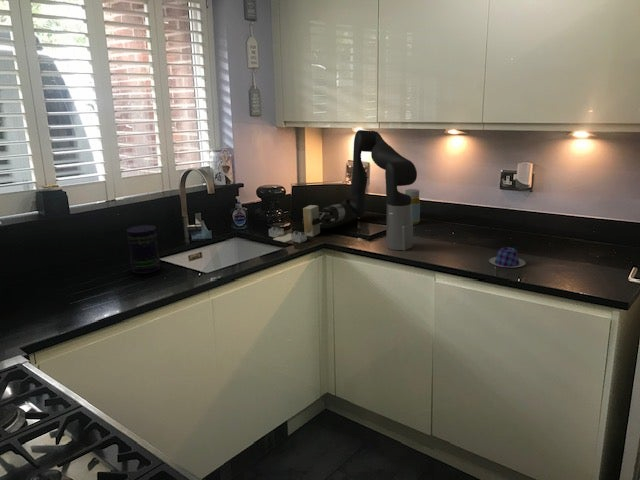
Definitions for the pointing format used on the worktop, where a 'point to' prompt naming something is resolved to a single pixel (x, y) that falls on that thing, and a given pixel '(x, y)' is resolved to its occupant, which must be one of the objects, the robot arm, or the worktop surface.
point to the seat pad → (284, 238)
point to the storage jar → (143, 248)
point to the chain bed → (295, 235)
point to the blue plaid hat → (507, 258)
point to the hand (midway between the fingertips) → (307, 222)
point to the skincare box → (309, 215)
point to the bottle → (414, 205)
